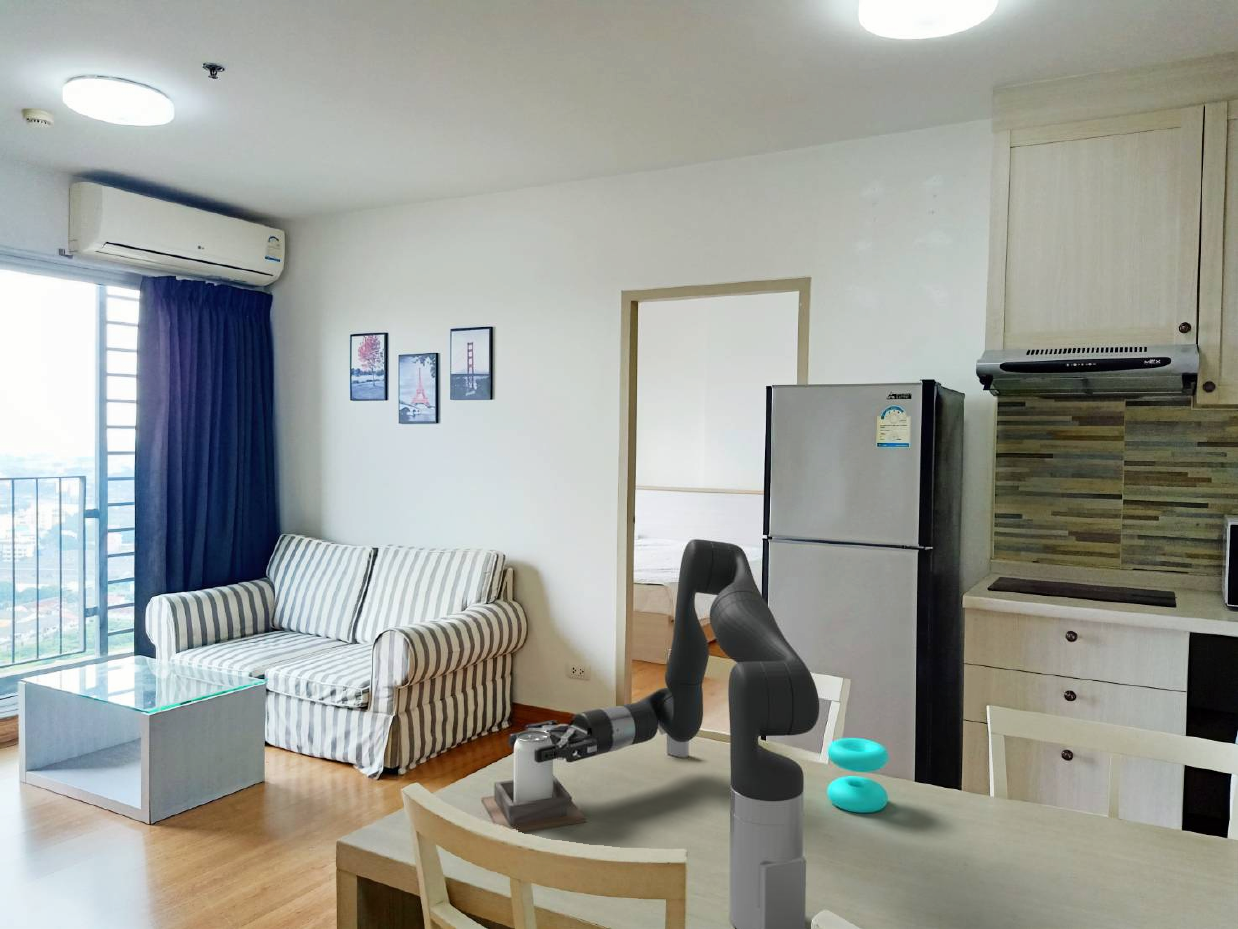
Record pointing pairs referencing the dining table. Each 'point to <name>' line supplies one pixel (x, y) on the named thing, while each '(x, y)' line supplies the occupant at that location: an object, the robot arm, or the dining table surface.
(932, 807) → the dining table surface
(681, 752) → the lighter
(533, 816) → the can stand
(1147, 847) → the dining table surface
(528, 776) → the can
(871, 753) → the donuts
